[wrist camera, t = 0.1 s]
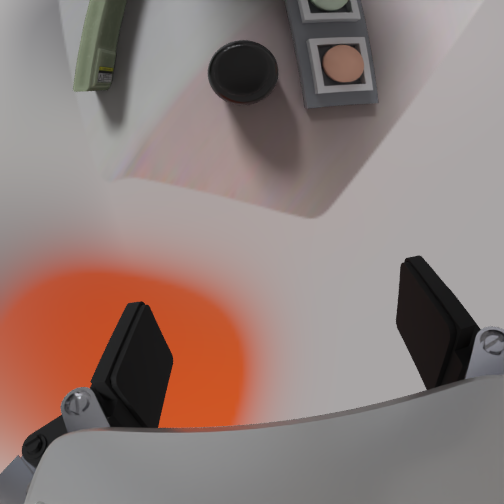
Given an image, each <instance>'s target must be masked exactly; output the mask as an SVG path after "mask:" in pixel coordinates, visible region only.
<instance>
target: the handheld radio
mask: <svg viewBox="0 0 504 504" xmlns="http://www.w3.org/2000/svg"><path fill="white" fill-rule="evenodd" d="M126 2H127V0H90V2H89V6H88V10H87V14H86V18H85V22H84V27H83V32H82V36H81V41H80V47H79V52H78V58H77V64H76V71H75V78H74V86H73V90H74V92H78V91H98V90H108V89H109V87H110V86H111V82H112V75H113V69H114V63H115V57H116V53H115V51H116V46H117V41H118V36H119V31H120V27H121V23H122V18H123V14H124V10H125V6H126Z"/></svg>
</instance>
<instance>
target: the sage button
mask: <svg viewBox="0 0 504 504" xmlns="http://www.w3.org/2000/svg"><path fill="white" fill-rule="evenodd" d="M310 1H311V3H312V4H313V5H314V6H315V7H317V8H318V9H320V10H323V11H328V12H332V11H337V10H339V9H340V8H342V7H343V6H344V5H345V4H346V3H347V2H348V0H310Z"/></svg>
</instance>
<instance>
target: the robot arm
mask: <svg viewBox="0 0 504 504" xmlns="http://www.w3.org/2000/svg"><path fill="white" fill-rule="evenodd" d="M396 324H397V328H398V330H399V332H400V334H401V336H402V338H403V340H404V342H405V344H406V346H407V348H408V350H409V353H410V355H411V356H412V359H413V361H414V363H415V365H416V367H417V369H418V371H419V374H420V376H421V378H422V380H423V382H424V385H425V387H426V389H427V390H426V391H423V392H419V393H416V394H412V395H408V396H404V397H401V398H397V399H393V400H390V401H386V402H382V403H378V404H373V405H369V406H365V407H360V408H356V409H351V410H346V411H341V412H336V413H330V414H325V415H319V416H313V417H307V418H300V419H293V420H286V421H278V422H269V423H260V424H249V425H237V426H223V427H203V428H202V427H201V428H158V425H159V420H160V416H161V412H162V407H163V403H164V398H165V394H166V390H167V386H168V381H169V377H170V373H171V369H172V365H173V356H172V353H171V351H170V349H169V347H168V345H167V343H166V341H165V339H164V337H163V335H162V333H161V331H160V328H159V326H158V324H157V322H156V320H155V318H154V315H153V313H152V311H151V309H150V307H149V305H145V303H144V302H134V303H128V304H127V306H126V308H125V310H124V312H123V314H122V316H121V318H120V320H119V322H118V324H117V326H116V328H115V330H114V332H113V335H112V336H111V338H110V340H109V343H108V344H107V347H106V349H105V351H104V353H103V355H102V357H101V359H100V362H99V364H98V366H97V368H96V370H95V373H94V375H93V377H92V380H91V383H92V385H91V387H90V389H89V388H86V387H81V388H76V389H74V390H72V391H71V392H69V393H68V394H67V396H65V397H64V399H63V401H62V404H61V413H62V415H61V416H59V417H58V418H56V419H54V420H53V421H51V422H50V423H48V424H47V425H45V426H43V427H42V428H40V429H39V430H37V431H35V432H34V433H32V434H31V435H30V436H28V437H27V439H26V440H25V441H24V444H23V446H22V457H20V456H19V455H18V456H17V457H16V458H15V459H14V460H13V461H12V462H11V463H10V464H9V465H8V466H7V467H6V469H5V470H4V471H3V472H2V473H1V474H0V504H504V330H503V329H501V328H499V327H493V326H491V327H485V328H483V329H480V328H479V327H478V325H477V324H476V323H475V321H474V320H473V318H472V317H471V316H470V315H469V313H468V312H467V311H466V309H465V308H464V307H463V305H462V304H461V303H460V302H459V300H458V299H457V298H456V296H455V295H454V294H453V293H452V291H451V290H450V289H449V288H448V287H447V286H446V285H445V284H444V282H443V281H442V280H441V279H440V278H439V276H438V275H437V274H436V273H435V272H434V270H433V269H432V268H431V267H430V266H429V264H427V262H426V261H425V260H424V259H423V258H422V257H421V256H415V257H410V258H406V259H405V262H404V263H402V264H401V267H400V283H399V295H398V306H397V316H396Z"/></svg>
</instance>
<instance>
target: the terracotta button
mask: <svg viewBox="0 0 504 504" xmlns="http://www.w3.org/2000/svg"><path fill="white" fill-rule="evenodd" d="M322 66H323V70H324V72H325V73H326V75H327V76H328V77H329V78H331V79H332V80H334V81H337V82H351V81H354V80H356V79H358V78H359V77H360V76H361V74H362V73H363V70H364V61H363V58H362V56H361V54H360V53H359V52H358V51H357V50H356V49H355V48H353V47H351V46H348V45H337V46H335V47H333V48H331V49H329V50H328V51H327V52H326V53H325V54H324V56H323V59H322Z"/></svg>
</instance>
